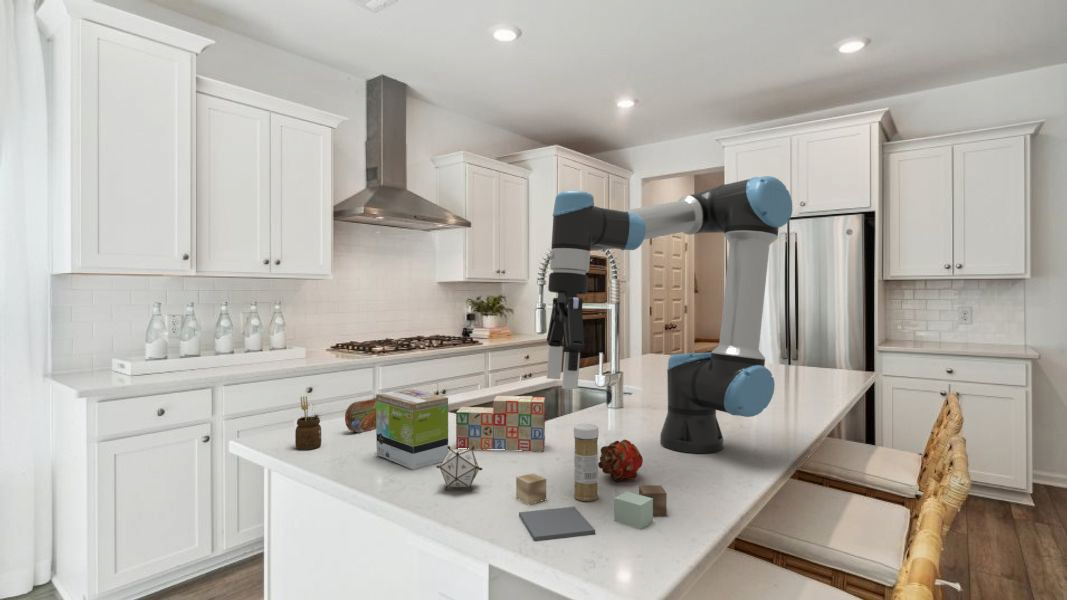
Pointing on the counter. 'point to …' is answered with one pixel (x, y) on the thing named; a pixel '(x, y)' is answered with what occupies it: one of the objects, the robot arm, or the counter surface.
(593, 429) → the sprinkles bottle
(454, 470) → the game die
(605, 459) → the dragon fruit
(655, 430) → the counter surface
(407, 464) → the tea box
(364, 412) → the tin
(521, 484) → the oak block
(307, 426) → the utensil holder
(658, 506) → the walnut block
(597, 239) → the robot arm
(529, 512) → the slate mat
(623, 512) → the sage painted block
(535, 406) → the stack of blocks
